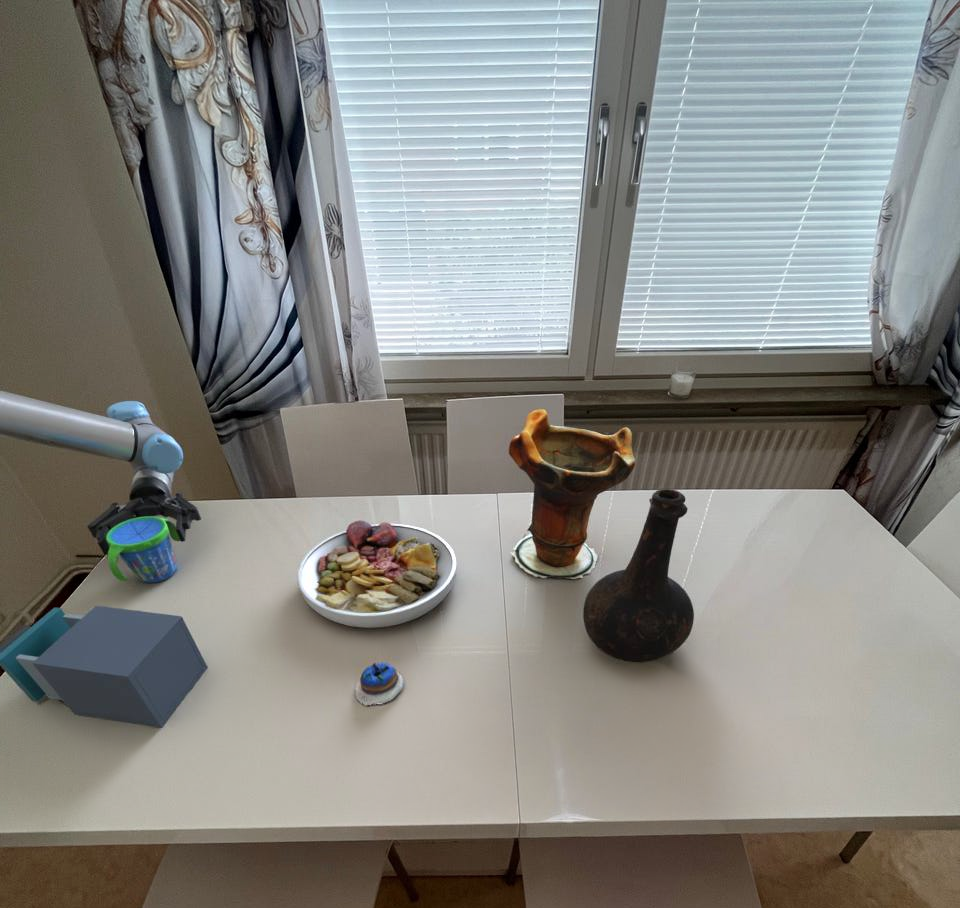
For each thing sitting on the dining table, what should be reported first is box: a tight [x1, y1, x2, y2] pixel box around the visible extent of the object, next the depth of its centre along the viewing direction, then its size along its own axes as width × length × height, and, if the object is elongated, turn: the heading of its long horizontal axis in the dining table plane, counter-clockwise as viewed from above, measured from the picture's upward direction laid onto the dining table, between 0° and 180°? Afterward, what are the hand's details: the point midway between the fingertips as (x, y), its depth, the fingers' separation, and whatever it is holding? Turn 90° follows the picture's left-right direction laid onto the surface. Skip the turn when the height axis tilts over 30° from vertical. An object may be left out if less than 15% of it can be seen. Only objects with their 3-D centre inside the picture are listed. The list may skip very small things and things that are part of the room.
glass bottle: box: [582, 488, 695, 664], centre depth 84 cm, size 18×18×28 cm
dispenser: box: [32, 605, 209, 729], centre depth 81 cm, size 15×13×11 cm
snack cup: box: [106, 516, 181, 584], centre depth 105 cm, size 16×10×10 cm
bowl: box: [296, 520, 457, 629], centre depth 102 cm, size 30×30×8 cm
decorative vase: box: [508, 408, 636, 580], centre depth 103 cm, size 21×23×28 cm
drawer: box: [0, 607, 85, 703], centre depth 83 cm, size 20×12×9 cm, turn 80°
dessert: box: [354, 662, 404, 706], centre depth 85 cm, size 8×7×6 cm
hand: (142, 542), depth 103 cm, fingers open, 13 cm apart
